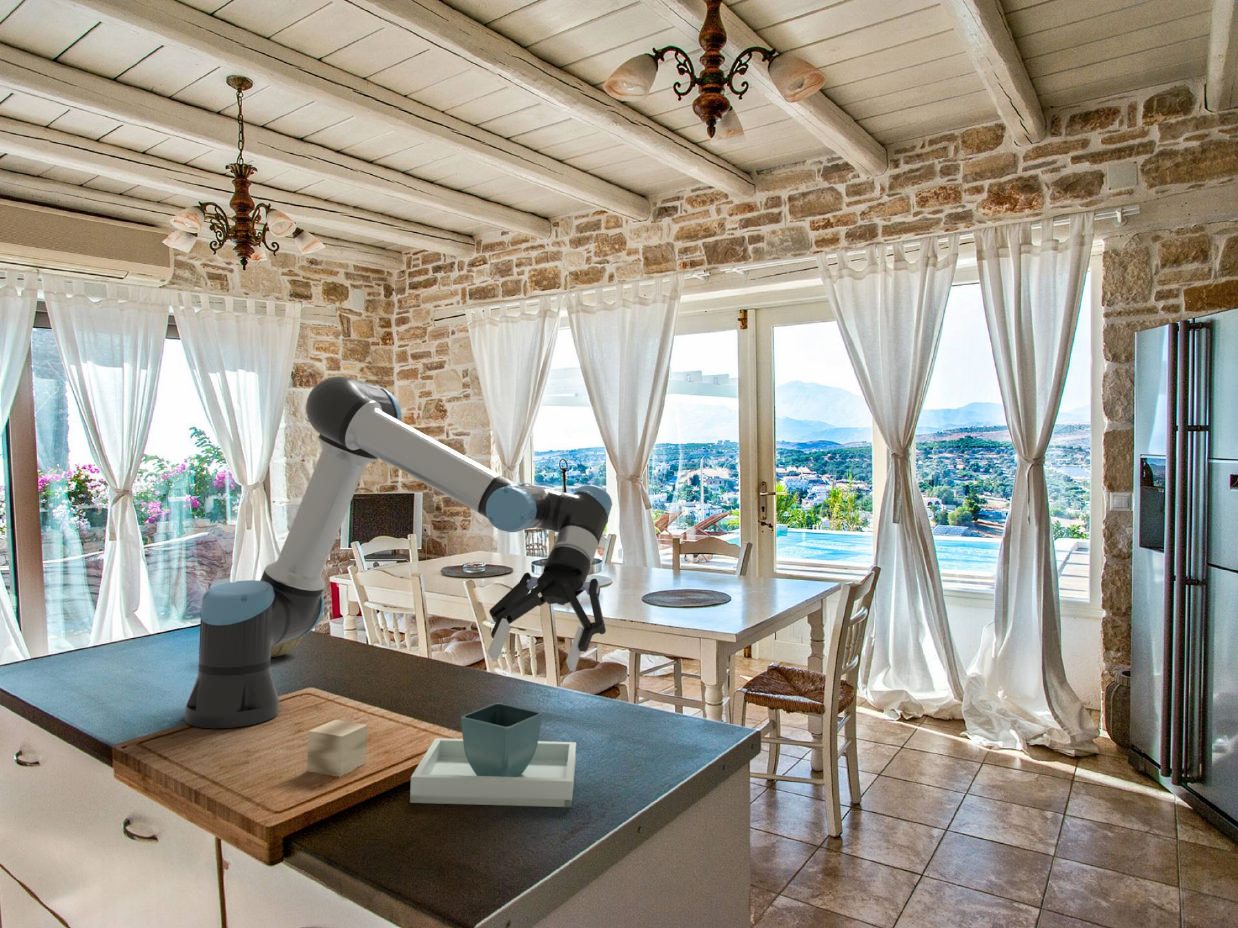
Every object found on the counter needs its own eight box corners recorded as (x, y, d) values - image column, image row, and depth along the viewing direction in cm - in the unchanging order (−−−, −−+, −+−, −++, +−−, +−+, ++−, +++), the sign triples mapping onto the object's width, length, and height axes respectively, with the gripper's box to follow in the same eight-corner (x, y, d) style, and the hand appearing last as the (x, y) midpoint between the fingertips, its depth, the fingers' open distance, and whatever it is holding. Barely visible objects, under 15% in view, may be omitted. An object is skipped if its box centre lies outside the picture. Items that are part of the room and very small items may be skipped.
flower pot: (505, 792, 110) (508, 727, 110) (456, 778, 114) (459, 715, 115) (541, 772, 118) (544, 712, 118) (494, 760, 122) (497, 701, 122)
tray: (409, 802, 108) (410, 776, 108) (434, 760, 124) (435, 737, 124) (571, 807, 108) (572, 781, 108) (575, 764, 124) (576, 742, 124)
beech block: (306, 771, 118) (308, 730, 118) (333, 758, 124) (335, 719, 124) (340, 777, 116) (342, 736, 116) (366, 763, 122) (367, 724, 122)
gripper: (642, 577, 138) (609, 684, 124) (513, 566, 146) (468, 665, 132) (634, 549, 133) (599, 656, 119) (501, 539, 141) (453, 639, 127)
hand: (530, 661), depth 125 cm, fingers open, 13 cm apart
